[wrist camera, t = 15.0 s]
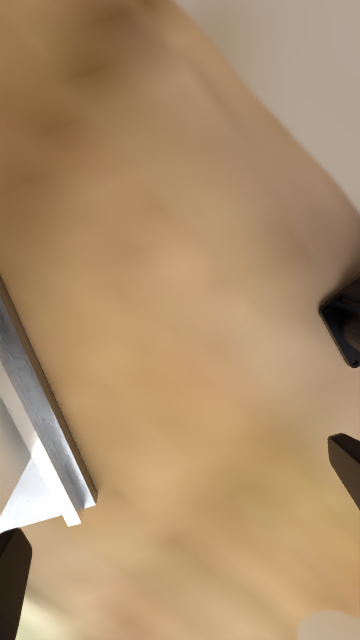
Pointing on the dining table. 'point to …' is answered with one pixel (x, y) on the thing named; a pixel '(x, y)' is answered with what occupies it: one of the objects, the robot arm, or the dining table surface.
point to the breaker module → (10, 455)
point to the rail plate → (38, 435)
